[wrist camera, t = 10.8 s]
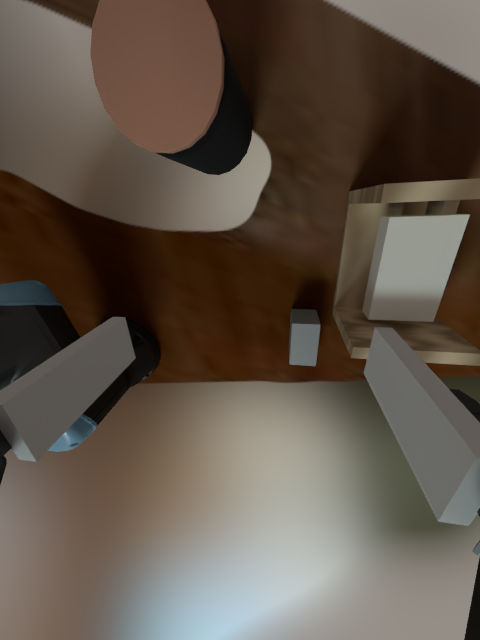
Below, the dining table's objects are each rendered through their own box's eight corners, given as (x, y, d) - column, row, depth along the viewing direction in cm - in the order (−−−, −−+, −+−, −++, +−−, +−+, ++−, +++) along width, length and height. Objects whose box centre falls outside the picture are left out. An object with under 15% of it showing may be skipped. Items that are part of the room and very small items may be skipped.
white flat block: (362, 310, 36) (368, 319, 33) (380, 216, 30) (389, 217, 27) (421, 312, 34) (433, 321, 31) (452, 213, 29) (470, 214, 26)
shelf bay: (332, 313, 42) (351, 357, 30) (348, 191, 34) (384, 183, 22) (419, 315, 40) (479, 365, 28) (459, 185, 32) (571, 173, 19)
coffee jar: (250, 74, 31) (212, -67, 15) (255, 171, 35) (230, 143, 19) (174, 90, 33) (67, -18, 17) (188, 180, 37) (114, 161, 21)
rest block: (289, 346, 47) (289, 364, 42) (291, 308, 43) (291, 323, 38) (312, 347, 46) (315, 366, 41) (316, 309, 43) (320, 324, 37)
